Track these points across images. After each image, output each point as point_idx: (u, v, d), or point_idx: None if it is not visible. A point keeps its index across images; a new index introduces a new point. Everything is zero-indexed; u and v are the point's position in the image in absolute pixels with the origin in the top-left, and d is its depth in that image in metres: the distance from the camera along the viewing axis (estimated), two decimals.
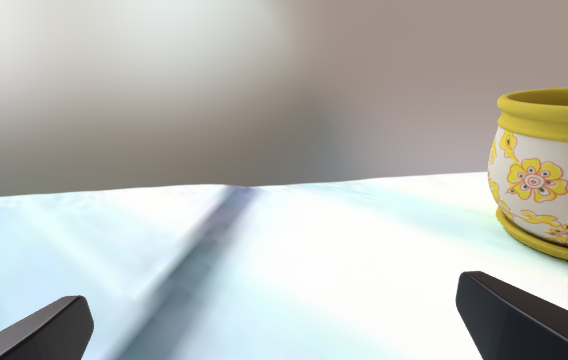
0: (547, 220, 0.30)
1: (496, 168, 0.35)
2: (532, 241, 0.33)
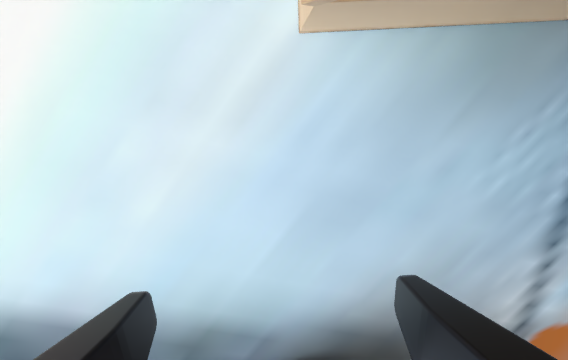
0: None
1: None
2: None
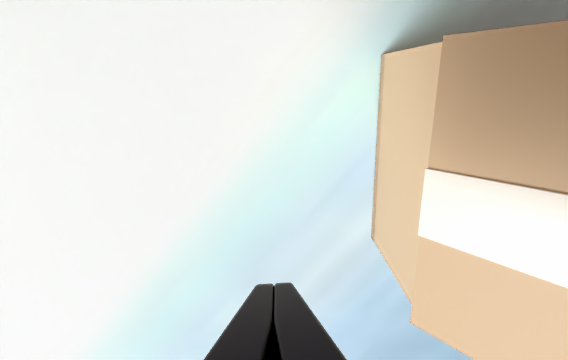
0: None
1: None
2: None
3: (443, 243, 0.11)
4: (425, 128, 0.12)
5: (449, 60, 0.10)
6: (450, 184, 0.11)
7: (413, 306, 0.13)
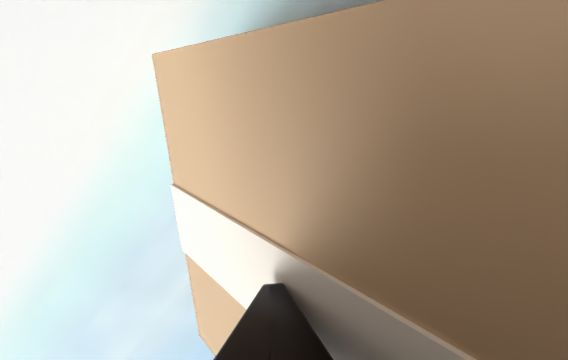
0: None
1: None
2: None
3: (193, 259, 0.11)
4: None
5: (159, 79, 0.10)
6: (182, 201, 0.11)
7: (197, 319, 0.13)
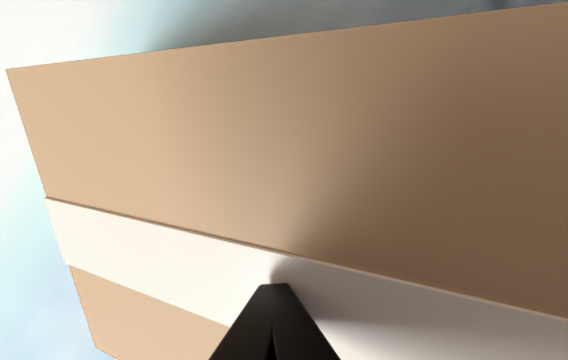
0: None
1: None
2: None
3: (79, 267, 0.12)
4: None
5: (17, 93, 0.10)
6: (60, 212, 0.11)
7: (90, 331, 0.13)
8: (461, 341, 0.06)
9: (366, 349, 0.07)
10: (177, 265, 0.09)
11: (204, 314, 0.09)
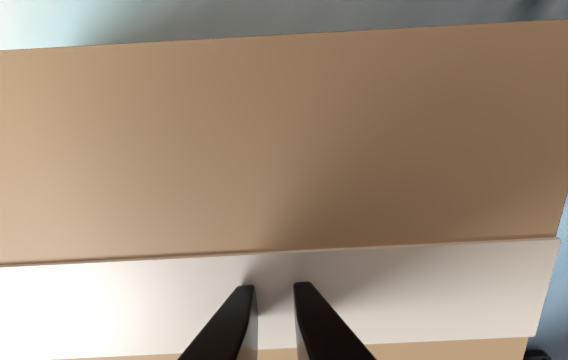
0: None
1: None
2: None
3: None
4: None
5: None
6: None
7: None
8: (460, 280, 0.07)
9: (388, 315, 0.07)
10: (164, 303, 0.07)
11: None
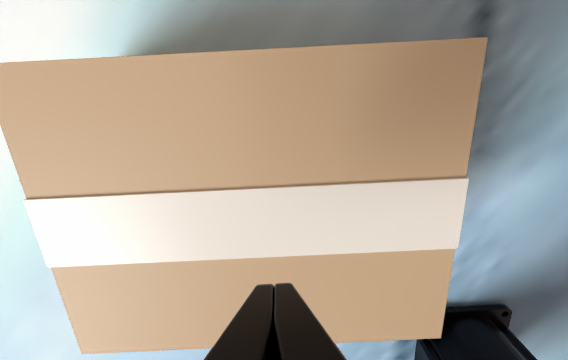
0: None
1: None
2: None
3: (73, 265, 0.12)
4: None
5: None
6: (53, 209, 0.11)
7: (77, 336, 0.13)
8: (405, 207, 0.11)
9: (358, 232, 0.11)
10: (210, 222, 0.11)
11: (233, 257, 0.11)
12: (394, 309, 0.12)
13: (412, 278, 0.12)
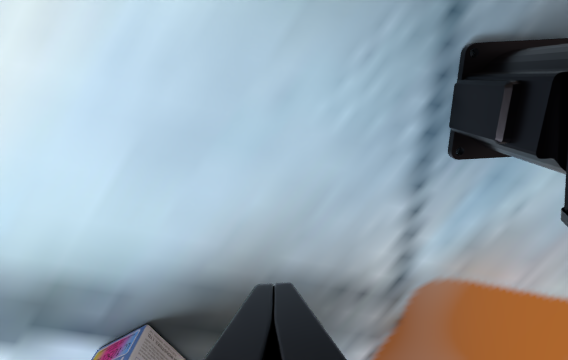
0: None
1: None
2: None
3: None
4: None
5: None
6: None
7: None
8: None
9: None
10: None
11: None
12: None
13: None
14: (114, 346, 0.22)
